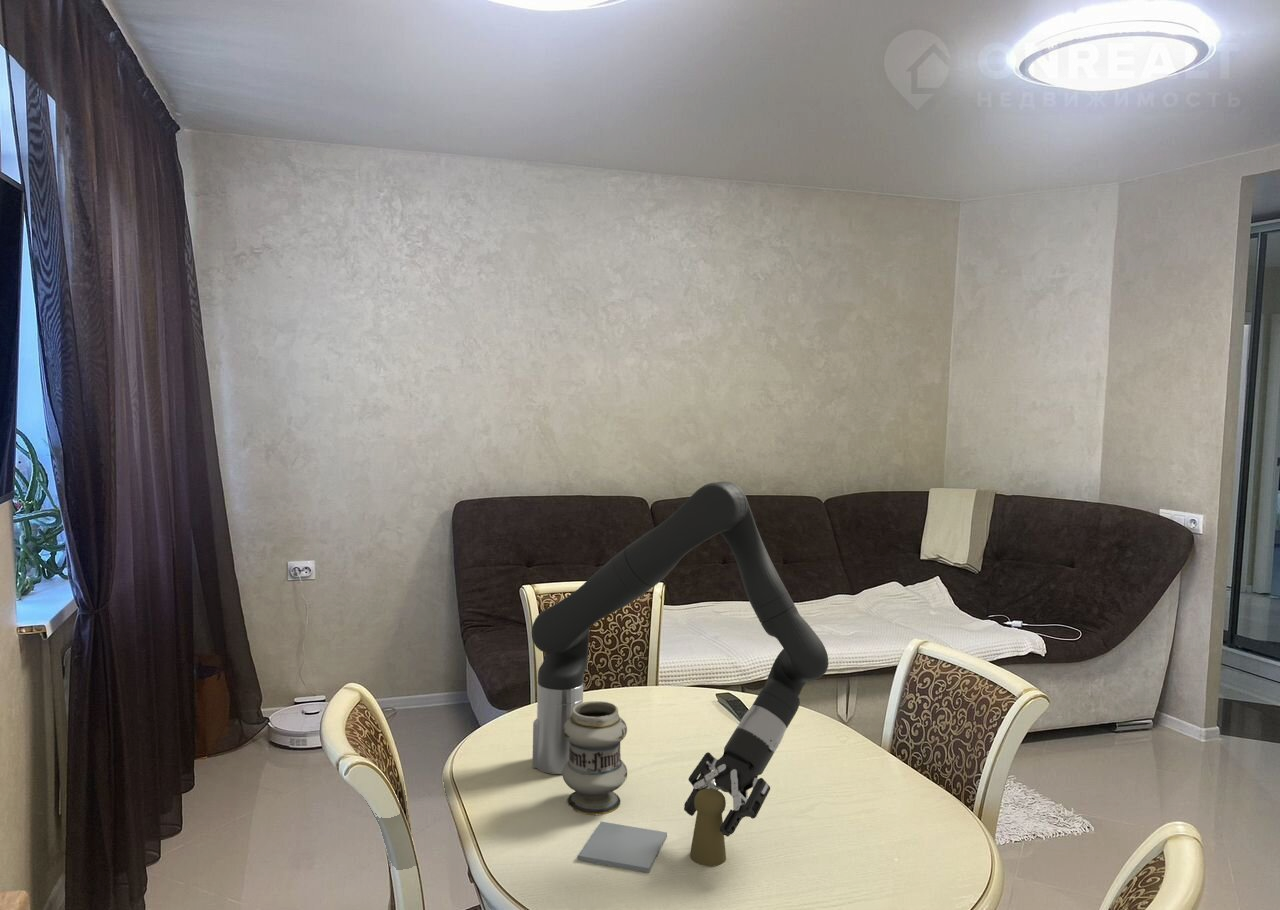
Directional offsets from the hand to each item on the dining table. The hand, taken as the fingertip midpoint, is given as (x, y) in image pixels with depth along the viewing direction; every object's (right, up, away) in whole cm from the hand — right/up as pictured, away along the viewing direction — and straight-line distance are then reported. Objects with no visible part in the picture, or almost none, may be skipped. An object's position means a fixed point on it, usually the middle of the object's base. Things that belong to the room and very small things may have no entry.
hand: (705, 823), depth 144 cm
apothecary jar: (-19, -4, +19) cm, 27 cm away
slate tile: (-14, -5, +3) cm, 15 cm away
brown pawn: (0, -6, +1) cm, 6 cm away
